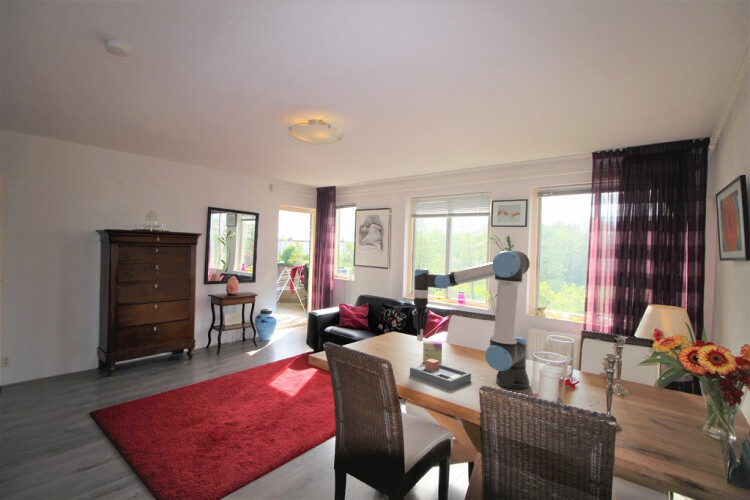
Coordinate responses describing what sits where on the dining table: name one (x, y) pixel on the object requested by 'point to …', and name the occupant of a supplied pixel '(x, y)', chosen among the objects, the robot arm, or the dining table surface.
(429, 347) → the box
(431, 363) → the block
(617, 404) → the dining table surface
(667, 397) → the dining table surface
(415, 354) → the dining table surface
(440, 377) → the box
